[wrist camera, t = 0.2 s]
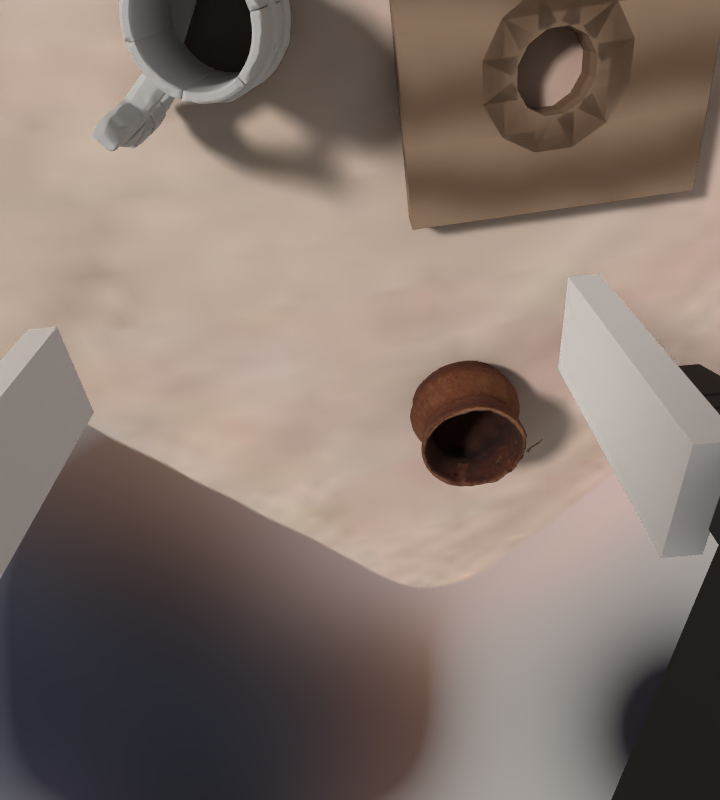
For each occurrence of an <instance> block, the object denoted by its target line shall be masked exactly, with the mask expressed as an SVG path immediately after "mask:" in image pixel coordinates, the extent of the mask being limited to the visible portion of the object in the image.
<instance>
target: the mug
mask: <svg viewBox="0 0 720 800" xmlns="http://www.w3.org/2000/svg"><path fill="white" fill-rule="evenodd" d="M245 1H246V3H247V6H248V8H249V10H250V11H251V12H250V17H251V24H252V42H251V48H250V52H249V56H248V59H247V61H246V63H245V65H244V67H243V69H242V70H241V72H235V73H229V72H223V71H219V70H217V71H216V70H215V69H213V68H211V67H209V66H207V65H205V64H204V63H202V62H201V61H199V60H198V59H197V58H196V57H195V56H194V55H193V54H192V53H191V52H190V51H189V49H188V48H187V47H186V45H185V44H184V41H185V37H186V34H187V31H188V28H189V25H190V21H191V18H192V15H193V12H194V9H195V5H196V2H197V0H119V14H120V24H121V30H122V34H123V37H124V40H125V41H128V42H130V43H128V44H127V48H128V50H129V52H130V54H131V56H132V58H133V60H134V62H135V63H136V65H137V66H138V68H139V69H140V70H141V72H142V74H141V75H140V77H139V78H138V80H137V81H136V82H135V84H134V85H133V87H132V88H131V90H130V91H129V93H128V94H127V95H126V97H125V98H124V99H123V101H122V102H120V103H119V104H118V105H117V106H116V107H115V108H114V109H112V110H111V111H110V112H109V113H108V114H107V115H105V116H104V117H103V118H102V119H101V120H100V121H99V123H98V124H97V125H96V127H95V128H94V130H93V131H92V136H93V137H94V138H95V139H96V140H97V141H98V142H99V143H100V144H102V145H103V146H104V147H105V148H106V149H108V150H110V151H115V150H116V149H117V148H118V147H119V146H120V147H121V146H122V147H131V148H135V147H137V146H138V145H140V144H141V143H142V142H144V141H145V139H147V138H148V136H150V135H151V134H152V133H153V132H154V131H155V130H156V129H157V128H158V127H159V125H160V124H161V123H162V121H163V119H164V118H165V116H166V112H167V110H168V109H169V107H170V105H171V104H172V102H173V100H174V99H175V98H177V99H182V100H183V101H184V102H194V103H198V104H211V103H221V102H223V103H228V102H232V101H234V100H236V99H237V98H239V97H240V96H242V95H244V94H246V93H247V92H249V91H250V90H251V89H252V88H254V87H256V86H258V85H259V84H261V83H262V82H264V81H265V80H266V79H267V78H268V77H270V76H271V74H272V73H273V72H274V71H275V70H276V69H277V67H278V66H279V64H280V62H281V61H282V59H283V57H284V54H285V52H286V49H287V48H288V46H289V43H290V31H291V10H290V3H289V0H245Z"/></svg>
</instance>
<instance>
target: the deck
mask: <svg viewBox="0 0 720 800" xmlns="http://www.w3.org/2000/svg"><path fill="white" fill-rule="evenodd" d="M389 1H390V12H391V23H392V34H393V45H394V56H395V67H396V78H397V89H398V100H399V111H400V122H401V133H402V144H403V155H404V166H405V177H406V188H407V199H408V210H409V218H410V222H411V226H412V229H413V230H415V229H422V228H429V227H436V226H443V225H450V224H457V223H464V222H471V221H478V220H485V219H492V218H499V217H506V216H513V215H521V214H528V213H535V212H542V211H549V210H556V209H563V208H570V207H577V206H584V205H591V204H598V203H605V202H612V201H620V200H627V199H634V198H641V197H648V196H655V195H662V194H669V193H676V192H683V191H690V190H693V186H694V180H695V174H696V169H697V163H698V157H699V152H700V146H701V140H702V135H703V129H704V123H705V118H706V112H707V106H708V100H709V95H710V89H711V83H712V78H713V72H714V66H715V61H716V55H717V49H718V44H719V38H720V0H389ZM561 26H565V27H567V28H569V29H571V30H573V31H574V32H575V34H576V36H577V38H578V40H579V42H580V44H581V46H582V48H583V62H582V73H581V75H580V76H579V78H578V80H577V82H576V84H575V86H574V87H573V89H572V91H571V93H569V94H568V95H567V96H565V97H564V98H563V99H561V100H560V101H559V102H558V103H556V104H555V105H554V106H548V107H541V108H532V107H530V106H528V105H525V103H524V101H523V99H522V97H521V96H520V94H519V92H518V90H517V74H518V65H519V63H520V61H521V59H522V57H523V55H524V53H525V51H526V48H527V46H528V44H529V43H531V42H532V41H533V40H534V39H536V38H537V37H538V36H539V35H541V34H542V33H543V32H544V31H546V30H547V29H549V28H555V27H561Z"/></svg>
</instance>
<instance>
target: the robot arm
mask: <svg viewBox="0 0 720 800" xmlns="http://www.w3.org/2000/svg"><path fill="white" fill-rule="evenodd" d="M558 370H559V371H560V373H561V375H562V377H563V379H564V381H565V382H566V384H567V386H568V388H569V390H570V392H571V393H572V395H573V397H574V399H575V401H576V403H577V404H578V406H579V408H580V410H581V412H582V414H583V415H584V417H585V419H586V421H587V423H588V425H589V426H590V428H591V430H592V432H593V434H594V436H595V437H596V439H597V441H598V443H599V445H600V447H601V448H602V450H603V452H604V454H605V456H606V458H607V459H608V461H609V463H610V465H611V467H612V469H613V471H614V472H615V474H616V476H617V478H618V479H619V481H620V483H621V485H622V487H623V489H624V491H625V493H626V494H627V496H628V498H629V500H630V502H631V504H632V505H633V507H634V509H635V511H636V512H637V515H638V516H639V518H640V520H641V522H642V524H643V526H644V527H645V529H646V531H647V533H648V535H649V537H650V538H651V540H652V542H653V544H654V546H655V547H656V549H657V551H658V553H659V555H660V557H674V556H687V555H699V554H703V551H704V548H705V545H706V542H707V539H708V536H709V533H710V532H711V534H712V535H713V537H714V538H715V540H716V541H717V543H718V544H719V546H718V548H717V551H716V553H715V555H714V558H713V560H712V562H711V565H710V567H709V569H708V572H707V574H706V577H705V579H704V581H703V584H702V586H701V588H700V591H699V593H698V596H697V598H696V600H695V603H694V605H693V607H692V610H691V612H690V614H689V617H688V620H687V622H686V624H685V626H684V629H683V631H682V633H681V636H680V638H679V641H678V643H677V646H676V648H675V650H674V652H673V655H672V657H671V660H670V662H669V664H668V667H667V669H666V672H665V674H664V676H663V679H662V681H661V683H660V686H659V688H658V691H657V693H656V695H655V698H654V700H653V702H652V705H651V707H650V710H649V712H648V714H647V717H646V719H645V721H644V724H643V726H642V729H641V731H640V733H639V736H638V738H637V741H636V743H635V745H634V747H633V750H632V752H631V755H630V757H629V759H628V762H627V764H626V766H625V769H624V771H623V773H622V776H621V778H620V781H619V783H618V786H617V788H616V790H615V793H614V795H613V797H612V800H720V376H719V375H718V374H716V373H714V372H712V371H710V370H709V369H707V368H705V367H703V366H701V365H700V364H695V365H684V366H678V365H677V364H676V363H675V362H674V361H673V360H672V358H671V357H670V356H669V355H668V354H667V353H666V351H665V350H664V349H663V348H662V347H661V345H660V344H659V343H658V342H657V341H656V340H655V338H654V337H653V336H652V335H651V334H650V333H649V331H648V330H647V329H646V328H645V327H644V326H643V324H642V323H641V322H640V321H639V320H638V318H637V317H636V316H635V315H634V314H633V313H632V311H631V310H630V309H629V308H628V307H627V306H626V304H625V303H624V302H623V301H622V300H621V299H620V297H619V296H618V295H617V294H616V293H615V292H614V290H613V289H612V288H611V287H610V286H609V284H608V283H607V282H606V281H605V280H604V279H603V277H602V276H601V275H600V274H590V275H579V276H569V277H568V285H567V294H566V303H565V312H564V321H563V330H562V340H561V349H560V358H559V367H558ZM93 413H94V411H93V409H92V407H91V404H90V402H89V400H88V398H87V395H86V393H85V391H84V388H83V386H82V384H81V381H80V379H79V377H78V374H77V372H76V370H75V367H74V365H73V363H72V360H71V358H70V356H69V354H68V351H67V349H66V347H65V344H64V342H63V340H62V337H61V335H60V333H59V330H58V328H57V327H48V328H38V329H28V330H27V331H26V332H25V333H24V335H23V336H22V337H21V338H20V339H19V340H18V341H17V343H16V344H15V345H14V346H13V347H12V348H11V349H10V351H9V352H8V353H7V354H6V355H5V356H4V357H3V359H2V360H1V361H0V578H1V576H2V574H3V573H4V571H5V569H6V567H7V565H8V564H9V562H10V560H11V558H12V557H13V555H14V553H15V551H16V550H17V548H18V546H19V544H20V542H21V541H22V539H23V537H24V535H25V534H26V531H27V530H28V528H29V526H30V525H31V523H32V521H33V519H34V518H35V516H36V514H37V512H38V510H39V509H40V507H41V505H42V503H43V501H44V500H45V498H46V496H47V494H48V492H49V491H50V489H51V487H52V485H53V484H54V482H55V480H56V478H57V477H58V475H59V473H60V471H61V469H62V468H63V466H64V464H65V462H66V461H67V459H68V457H69V455H70V454H71V452H72V450H73V448H74V446H75V445H76V443H77V441H78V439H79V438H80V436H81V434H82V432H83V430H84V428H85V427H86V425H87V423H88V422H89V420H90V418H91V416H92V414H93Z"/></svg>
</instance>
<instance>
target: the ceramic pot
mask: <svg viewBox="0 0 720 800" xmlns="http://www.w3.org/2000/svg"><path fill="white" fill-rule="evenodd" d="M518 417H519V402H518V397H517V394H516V391H515V389H514V387H513V386H512V384H511V383H510V382H509V381H508V380H507V379H506V377H505V376H504V375H502V374H501V373H500V372H499V371H497V370H495V369H494V368H492V367H491V366H489V365H487V364H485V363H482V362H478V361H461V362H456V363H452V364H449V365H446V366H444V367H441V368H440V369H438V370H436V371H435V372H433V373H432V374H431V375H429V376H428V377H427V378H426V379H425V380H424V381H423V382H422V383H421V384H420V385H419V387H418V388H417V390H416V392H415V395H414V398H413V406H412V409H411V414H410V419H411V424H412V428H413V430H414V432H415V434H416V435H417V437H418V438H419V440H420V441H421V442H422V457H423V460H424V463H425V465H426V467H427V468H428V470H429V471H430V472H431V473H432V474H433V475H434V476H435V477H436V478H438V479H439V480H441V481H443V482H445V483H447V484H450V485H455V486H474V485H480V484H485V483H493V482H496V481H498V480H499V479H501V478H502V477H504V476H505V475H506V474H507V473H509V472H511V471H512V470H513V469H514V468H515V467H516V466H517V463H518V462H519V460H520V459H522V458H523V453H524V450H525V449H526V438H527V435H526V432H525V430H524V428H523V426H522V424H521V423H520V421H519V419H518ZM540 442H541V441H540ZM540 442H538V443H540ZM538 443H536V444H535V445H537V444H538ZM535 445H533V446H531V447H530V448H529V449H528V450H527V452H529V451H530V449H531V448H532V447H534V446H535Z"/></svg>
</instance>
